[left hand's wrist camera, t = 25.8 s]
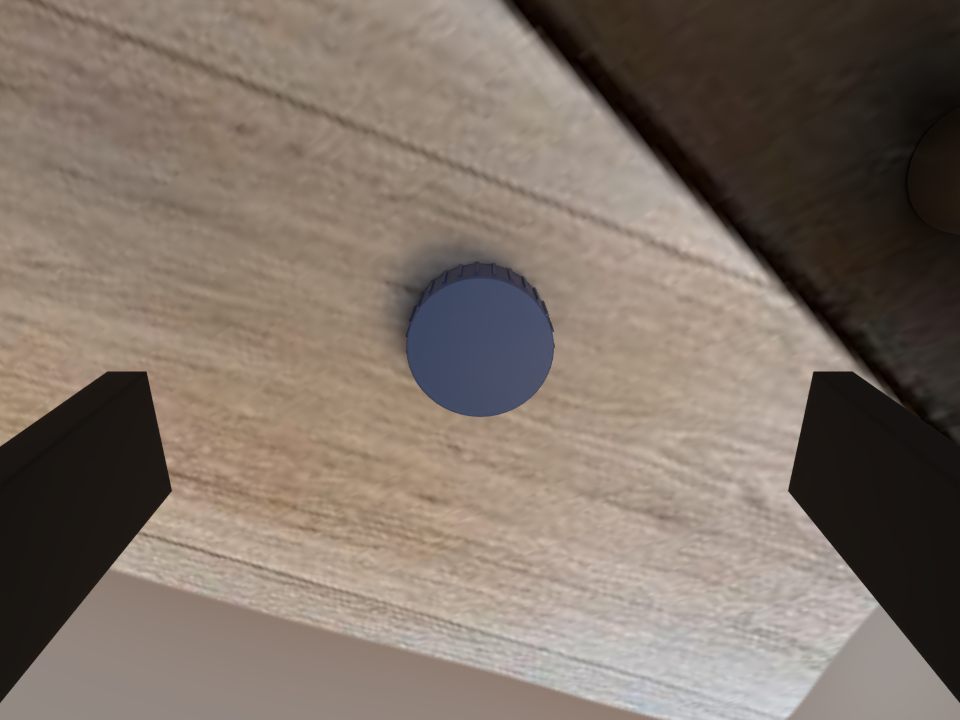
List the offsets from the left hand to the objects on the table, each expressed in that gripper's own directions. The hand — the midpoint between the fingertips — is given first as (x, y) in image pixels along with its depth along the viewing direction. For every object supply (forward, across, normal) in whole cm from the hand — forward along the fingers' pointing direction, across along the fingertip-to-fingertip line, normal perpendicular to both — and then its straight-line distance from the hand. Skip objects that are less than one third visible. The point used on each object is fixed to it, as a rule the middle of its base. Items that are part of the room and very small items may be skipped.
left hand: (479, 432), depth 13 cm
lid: (+8, 0, -1) cm, 8 cm away
